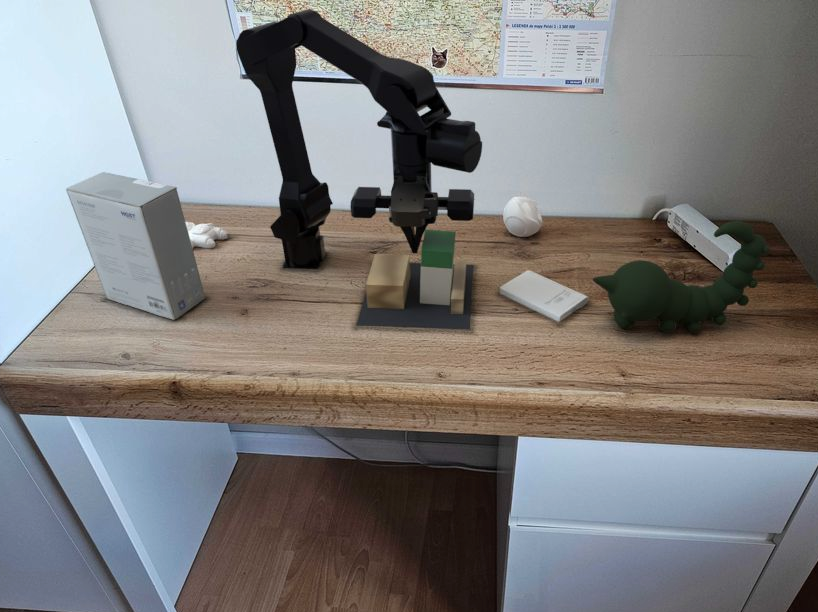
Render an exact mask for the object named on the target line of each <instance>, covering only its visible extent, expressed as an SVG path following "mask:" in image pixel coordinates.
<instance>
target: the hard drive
mask: <svg viewBox="0 0 818 612" xmlns="http://www.w3.org/2000/svg"><path fill="white" fill-rule="evenodd" d="M498 290H499V291H498V293H499V295H501V296H503V297H505V298H508V299H509V300H511V301H514V302H516V303H518V304H519V305H522V306H524V307H527V308H529V309H530V310H532V311H535V312H536V313H539V314H541V315H543V316H545V317H547V318H550V319H551V320H554V321H555V322H558V323H560V322H561V321H563V320H564V319H565V318H567V317H568V316H570V315H571V314H573V313H574V312H575V311H576V310H578V309H579V310H581V308H583V307H584V306H585V305H587V303H588V300H589V296H588V295H585V294H583V293H582V292H581V293H580V292H579V291H576V290H574V289H572V288H570V287H567V286H565V285H564V284H561V283H558V282H556V281H554V280H553V279H550V278H547V277H546V276H543V275H541V274H539V273H537V272H534V271H532V270H529V269H528V270H525V271H523V272H522V273H520V274H519V275H517V276H516V277H514V278H512V279H510V280H509V281H507V282H506V283H504V284H503V285H501V286H500V287H499V289H498Z"/></svg>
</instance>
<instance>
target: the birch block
mask: <svg viewBox="0 0 818 612" xmlns="http://www.w3.org/2000/svg"><path fill="white" fill-rule="evenodd" d="M410 263H411V256H410V254H394V253H392V254H391V253H390V254H389V253H375V254H374V256H373V259H372V262H371V266H370V269H369V273H368V275H367V279H366V283H365V294H366V293H367V305H368V308H389V309H404V307H405V302H406V297H407V292H408V287H409V282H410Z"/></svg>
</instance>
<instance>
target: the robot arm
mask: <svg viewBox="0 0 818 612" xmlns="http://www.w3.org/2000/svg"><path fill="white" fill-rule="evenodd" d="M235 41H236V42H235V47H236V52H237V55H238V58H239V60H240V63H241V65H242V68H243V71H244V73H245V75H246V77H247V78H248V79H249V80H250V81H251V82H252V84H254V86H255V87H256V88H257V89H258V91H259V92H260V95H261V100H262V103H263V107H264V111H265V115H266V120H267V122H268V123H267V124H268V127H269V131H270V135H271V138H272V143H273V147H274V149H275V154H276V158H277V162H278V166H279V170H280V174H281V177H282V182H281V187H280V191H279V195H278V202H279V212H280V215H279V216H278V217H277V219H275V220H274V222H273V223H272V224H271V225H270V227H269V228H270V230H271V232H272V235H273V237H274V238H275V239H278V240H281V245H282V250H283V256H284V262H283V264H282V269H294V270H295V269H298V270H318V269H320V266H321V264H322V263H323V262H324V261H325V258H326V248H325V240H324V239H325V238H324V236H323V235H322V234H321V231H320V227H321V226H323V225H325V224H326V220H327V218H328V216H329V215H330V213H331V210H332V209H331V206H332V205H333V204H334V203H333V201H332V199H331V196H330V190H329V189H330V188H329V185H328V183H327V182H321V181H319V179H318V178H317V177H316V176H315V175H314V174H313V171H312V167H311V162H310V157H309V153H308V149H307V145H306V140H305V136H304V132H303V128H302V123H301V120H300V119H301V118H300V115H299V109H298V106H297V102H296V97H295V94H294V89H293V88H294V87H293V82H294V77H295V73H296V69H297V53H296V49H298V48H300V47H303V48H304V49H306V50H308V51H309V52H311V53H313V54H315V56H317V57H319V58H320V59H322V60H323V61H325V62H327V63H328V64H329V65H331V66H333V67H335V68H337V69H338V70H340V71H341V72H343V73H344V74H346V75H347V76H350V77H351V78H353V79H354V80H356V81H357V82H359V83H360V84H362V85H363V86H364V87H365V88H367V89H368V91H369V93H370V94H371V97H372V98H373V100H374V101H375V103H377V104H378V105H379V106H380V107H381V108H382V109H384V110H385V111H386V112H385V114H384V115H383V116H382V117H381V119H379V120H378V121H377V123H376V126H377V127H379V128H384V129H389V130H390V140H391V143H390V144H391V157H392V175H393V177H392V178H393V183H392V186H391V190H390V195H383V194H382V189H381V188H380V187H381V186H378V187H377V186H358V187H357V188H356V189H355V190H354V193H353V195H352V197H351V200H350V216H351V217H352V218H354V219H372V218H374V216H375V215H376V214H377V209H388V211H389V218H388V221H389V223H391V224H392V225H393V226H395V227H397V228H400V230H401V231H402V233H403V234H404V236H405V239H406V241H407V243H408V246H409V248H410V250H411V252H412V254H418V251H419V247H420V244H421V242H422V239H423V236H424V234H425V229H427V227H428V226H429V225H433V224H435V223H436V221H437V217H438V215H439V210H440V211H446V216H447V217H448V218H449V219H450V220H451V221H454V222H455V221H457V222H458V221H459V222H470V221H473V220H474V211H475V193H474V191H473V190H472V189H466V188H465V189H463V188H462V189H461V188H449V189H448V196H439V194H438V192H436V191H435V192H434V191H432V165H433V166H434V167H440V168H445V169H449V170H454V171H460V172H464V173H468V174H470V173H473V172H474V171H475V170H477V167H478V165H479V164H480V160H481V157H482V151H483V141H482V140H481V136H480V133H479V132H478V131H477V130H476V122H475V121H470V120H457V119H451V118H450V117H451V116H452V111H451V110H450V108H449V106H448V105H447V103H446V101H445V100H444V99H443V97H442V95H441V93H440V92H439V89H438V88H437V86H436V82H435V80H434V75H433V74H432V73H431V71H430V70H428V69H427V68H426V67H424V66H422V65H420V64H417V63H414V62H411V61H409V60H407V59H404V58H403V59H402V58H396V57H390V56H387V55H385V54H382V53H381V52H379V51H377V50H376V49H374V48H372V47H371V46H369V45H367V44H366V43H364V42H363V41H361V40H359V39H358V38H356V37H355V36H353V35H351V34H349V33H348V32H347V31H345V30H344V29H341V28H339V27H338V26H336V25H335V24H333V23H332V22H330V21H328V20H327V19H325V18H323V17H322V15H321V14H320V13H319V12H318V11H316V10H314V9H310V8H308V9H303V10H300V11H297V12H292V13H290V14H288V15H287V16H286V17H285V18H283V19H281V20H279V21H271V22H268V23H264V24H260V25H257V26H254V27H251V28H250V27H249V28H247V29H243V30H242V31H241V32H240V33H239V35H238V37H237V39H236V40H235ZM426 108H428V109H429V110H428V111H427V112H424V113H423V114H421V115H420V114H419V112H420V111H422V110H424V109H426Z"/></svg>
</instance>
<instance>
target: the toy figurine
mask: <svg viewBox="0 0 818 612" xmlns="http://www.w3.org/2000/svg"><path fill="white" fill-rule="evenodd" d="M724 235H731V236H733V237H735V238H736V239H737V240H739V241H740V242H741V244H740V248H738V249H737V250H736V251H735V252H734V254H733V255H732V258H731V259H732V260H731V263H729V264H728V265H726V267H725V268H724V269H723V272H722V275H720V276H719V277H717V278H716V279H715V280H714V282H713V283H712V284H709V285H705V286H700V285H696V284H689V285H688V284H687V285H686V283H684V282H682V281H680V280H678V279H675V278H670V276H669V274H668V273H667V272H666V271H665V269H663V268H662V267H661V266H660V265H658V264H657V263H654V262H652V261H649V260H643V259H639V260H638V259H637V260H632V261H629V262H627V263H625V264H622V265H621V266H620V267H619V268H617V269H616V271H614V273H613V274H607V275H600V276H594V277H593V278H592V282H594V283H595V284H596V285H598V286H599V287H601V288H602V289H603V290H605V291H606V292H607V296H608V301H609V304H610V306H611V308H612V309H613V310H614V311H613V319H614V321H615V323H616V325H617V326H618V327H619V328H620V329H623V330H627V329H631V328H632V327H633V326H634V325H635V324H636V322H637V323H645V322H649V321H653V320H654V319H655V320H656V321H658V327H659V329H660V330H661V331H662V332H664V333H672V332H673V331H674V330H676V328H677V322H679V323H683V324H686V327H687V330H688V332H689V333H692V334H696V333H698V332H700V330H701V327H702V324H701V322H703V321H705V320H706V319H711V318H712V323H714V325H717V326H723V325H725V324H726V322H727V315H726V314H725V313H724V312H725V311H726V310H727V308H728V306H731V305H734V304H736V303H737V305H738V306H741V307H746V306H747V305H748V304H749V302H750V298H749V297H748V295H746V294H744V292H745V288H747V287H748V288H750V289H755V288H756V287H757V286H758V284H759V281H758V279H756V278H754V272H755V271H762V270H764V269H765V267H766V266H765V265H766V264H765V262H764V261H763V260H762V257H761V256H763V255H767V254H770V251H771V246H769V245H767V241H766V239H765V237H763V236H762V235H760V234H757V233H755V231H754V228H753V226H752V225H751V224H749V223H747V222H745V221H741V220H740V221H739V220H733V221H728V222H726V223H724V224H722V225H720V227H718V228H717V229H716V230H715V231H714V233H713V237H714V238H719V237H721V236H724Z"/></svg>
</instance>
